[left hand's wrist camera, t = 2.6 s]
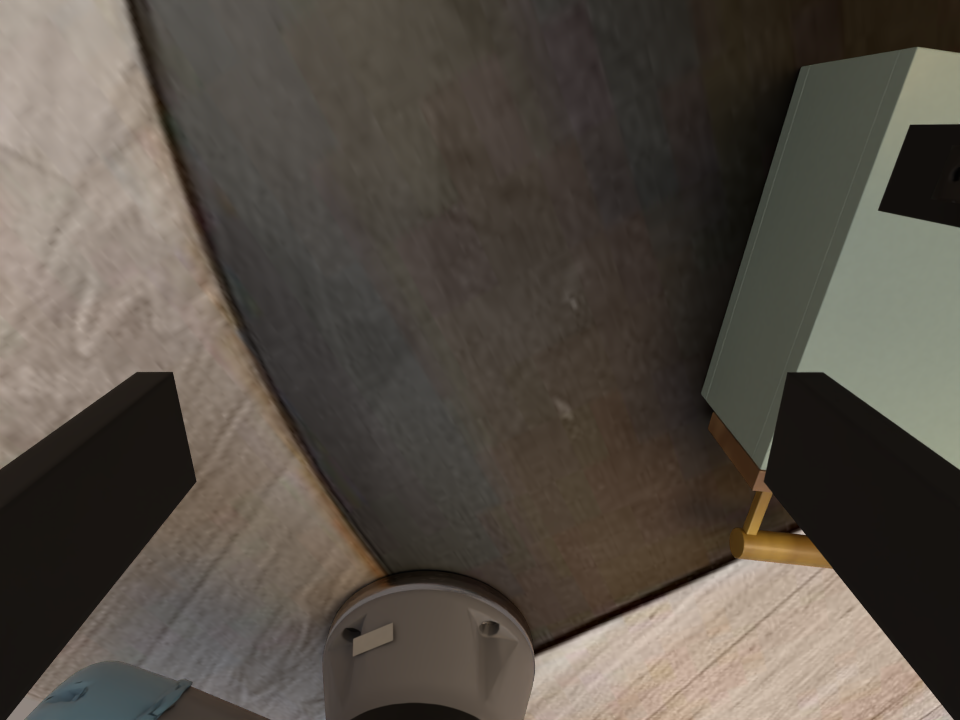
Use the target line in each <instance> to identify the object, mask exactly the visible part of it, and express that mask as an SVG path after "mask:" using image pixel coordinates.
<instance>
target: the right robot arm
mask: <svg viewBox="0 0 960 720" xmlns="http://www.w3.org/2000/svg"><path fill="white" fill-rule="evenodd" d="M878 211H881V212H886V213H891V214H896V215H901V216H905V217H910V218H915V219H920V220H925V221H930V222H934V223H939V224H944V225H949V226H954V227H959V228H960V124H921V125H910V126H909V129H908V131H907V134H906V137H905V139H904V142H903V144H902V147H901V150H900V152H899V155H898V158H897V160H896V163H895V166H894V168H893V171H892V174H891V176H890V179H889V182H888V184H887V187H886V190H885V192H884V195H883V198H882V200H881V203H880V206H879V208H878Z"/></svg>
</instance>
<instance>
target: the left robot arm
mask: <svg viewBox="0 0 960 720" xmlns="http://www.w3.org/2000/svg"><path fill="white" fill-rule="evenodd" d="M195 483H196V477H195V472H194V468H193V463H192V459H191V454H190V449H189V445H188V440H187V436H186V431H185V426H184V422H183V417H182V413H181V408H180V403H179V399H178V394H177V390H176V385H175V380H174V376H173V372H136V373H135V374H134V375H132V376H131V377H129V378H128V379H127V380H125V381H124V382H122V383H121V384H120V385H118V386H117V387H115V388H114V389H113V390H111V391H110V392H108V393H107V394H106V395H104V396H103V397H101V398H100V399H99V400H97V401H96V402H94V403H93V404H92V405H90V406H89V407H87V408H86V409H85V410H83V411H82V412H80V413H79V414H78V415H76V416H75V417H73V418H72V419H71V420H69V421H68V422H66V423H65V424H64V425H62V426H61V427H59V428H58V429H57V430H55V431H54V432H52V433H51V434H50V435H48V436H47V437H45V438H44V439H43V440H41V441H40V442H38V443H37V444H36V445H34V446H33V447H31V448H30V449H29V450H27V451H26V452H24V453H23V454H22V455H20V456H19V457H17V458H16V459H15V460H13V461H12V462H10V463H9V464H8V465H6V466H5V467H3V468H2V469H1V470H0V720H6V719H7V718H8V717H9V715H10V714H11V713H12V712H13V710H14V709H15V708H16V707H17V705H18V704H19V703H20V702H21V700H22V699H23V698H24V697H25V695H26V694H27V693H28V692H29V690H30V689H31V688H32V687H33V685H34V684H35V683H36V682H37V680H38V679H39V678H40V677H41V675H42V674H43V673H44V672H45V670H46V669H47V668H48V667H49V665H50V664H51V663H52V662H53V660H54V659H55V658H56V657H57V655H58V654H59V653H60V652H61V650H62V649H63V648H64V647H65V645H66V644H67V643H68V642H69V640H70V639H71V638H72V637H73V635H74V634H75V633H76V632H77V630H78V629H79V628H80V627H81V625H82V624H83V623H84V622H85V620H86V619H87V618H88V617H89V615H90V614H91V613H92V612H93V610H94V609H95V608H96V607H97V605H98V604H99V603H100V602H101V600H102V599H103V598H104V597H105V595H106V594H107V593H108V592H109V590H110V589H111V588H112V587H113V585H114V584H115V583H116V582H117V580H118V579H119V578H120V577H121V575H122V574H123V573H124V572H125V570H126V569H127V568H128V567H129V565H130V564H131V563H132V562H133V560H134V559H135V558H136V557H137V555H138V554H139V553H140V552H141V550H142V549H143V548H144V547H145V545H146V544H147V543H148V542H149V540H150V539H151V538H152V537H153V535H154V534H155V533H156V532H157V530H158V529H159V528H160V527H161V525H162V524H163V523H164V522H165V520H166V519H167V518H168V517H169V515H170V514H171V513H172V512H173V510H174V509H175V508H176V507H177V505H178V504H179V503H180V502H181V500H182V499H183V498H184V497H185V495H186V494H187V493H188V492H189V490H190V489H191V488H192V487H193V485H194V484H195ZM764 483H765V484H766V485H767V487H768V488H769V489H770V490H771V492H772V493H773V494H774V495H775V497H776V498H777V499H778V500H779V502H780V503H781V504H782V505H783V507H784V508H785V509H786V510H787V512H788V513H789V514H790V515H791V517H792V518H793V519H794V520H795V522H796V523H797V524H798V525H799V527H800V528H801V529H802V530H803V532H804V533H805V534H806V535H807V537H808V538H809V539H810V540H811V542H812V543H813V544H814V545H815V547H816V548H817V549H818V550H819V552H820V553H821V554H822V555H823V557H824V558H825V559H826V560H827V562H828V563H829V564H830V565H831V567H832V568H833V569H834V570H835V572H836V573H837V574H838V575H839V577H840V578H841V579H842V580H843V582H844V583H845V584H846V585H847V587H848V588H849V589H850V590H851V592H852V593H853V594H854V595H855V597H856V598H857V599H858V600H859V602H860V603H861V604H862V605H863V607H864V608H865V609H866V610H867V612H868V613H869V614H870V615H871V617H872V618H873V619H874V620H875V622H876V623H877V624H878V625H879V627H880V628H881V629H882V630H883V632H884V633H885V634H886V635H887V637H888V638H889V639H890V640H891V642H892V643H893V644H894V645H895V647H896V648H897V649H898V650H899V652H900V653H901V654H902V655H903V657H904V658H905V659H906V660H907V662H908V663H909V664H910V665H911V667H912V668H913V669H914V670H915V672H916V673H917V674H918V675H919V677H920V678H921V679H922V680H923V682H924V683H925V684H926V685H927V687H928V688H929V689H930V690H931V692H932V693H933V694H934V695H935V697H936V698H937V699H938V700H939V702H940V703H941V704H942V705H943V707H944V708H945V709H946V710H947V712H948V713H949V714H950V715H951V717H952V718H953V719H954V720H960V470H959V469H958V468H957V467H955V466H954V465H952V464H951V463H950V462H948V461H947V460H945V459H944V458H943V457H941V456H940V455H938V454H937V453H936V452H934V451H933V450H931V449H930V448H929V447H927V446H926V445H924V444H923V443H922V442H920V441H919V440H917V439H916V438H915V437H913V436H912V435H910V434H909V433H908V432H906V431H905V430H903V429H902V428H901V427H899V426H898V425H896V424H895V423H894V422H892V421H891V420H889V419H888V418H887V417H885V416H884V415H882V414H881V413H880V412H878V411H877V410H875V409H874V408H873V407H871V406H870V405H868V404H867V403H866V402H864V401H863V400H861V399H860V398H859V397H857V396H856V395H854V394H853V393H852V392H850V391H849V390H847V389H846V388H845V387H843V386H842V385H840V384H839V383H838V382H836V381H835V380H833V379H832V378H831V377H829V376H828V375H826V374H825V373H824V372H787V376H786V380H785V385H784V390H783V394H782V399H781V403H780V408H779V413H778V417H777V422H776V426H775V431H774V436H773V440H772V445H771V449H770V454H769V459H768V463H767V468H766V472H765V477H764ZM534 675H535V660H534V649H533V640H532V636H531V632H530V629H529V627H528V624H527V622H526V620H525V619H524V617H523V615H522V614H521V613H520V611H519V610H518V609H517V608H516V606H515V605H514V604H513V603H512V602H511V601H510V600H508V599H507V598H506V597H505V596H504V595H502V594H501V593H500V592H498V591H496V590H495V589H493V588H492V587H490V586H488V585H486V584H484V583H482V582H479V581H477V580H474V579H472V578H468V577H465V576H462V575H457V574H453V573H446V572H437V571H416V572H407V573H401V574H396V575H392V576H389V577H386V578H383V579H380V580H377V581H375V582H373V583H371V584H369V585H367V586H365V587H364V588H362V589H360V590H359V591H358V592H356V593H355V594H354V595H352V596H351V597H350V598H349V599H348V600H347V601H346V602H345V603H344V604H343V605H342V607H341V608H340V609H339V611H338V612H337V614H336V616H335V618H334V620H333V622H332V625H331V628H330V631H329V634H328V637H327V641H326V644H325V648H324V652H323V683H324V698H325V713H326V720H524V716H525V712H526V709H527V705H528V701H529V697H530V694H531V690H532V686H533V681H534ZM191 685H192V682H191V681H188V680H186V679H182V680H179V681H176V680H173V679H170V678H167V677H164V676H161V675H158V674H156V673H153V672H150V671H147V670H144V669H141V668H138V667H135V666H133V665H130V664H127V663H124V662H118V661H105V662H100V663H96V664H93V665H90V666H88V667H86V668H84V669H82V670H80V671H78V672H76V673H75V674H73V675H72V676H71V677H69V678H68V679H67V680H66V681H64V682H63V683H61V684H60V685H59V686H58V687H57V688H56V689H55V690H54V691H53V692H52V693H50V694H49V695H48V696H47V697H46V698H45V699H44V700H43V701H42V702H41V703H40V704H39V705H38V706H37V707H36V708H35V709H34V710H33V711H32V712H31V713H30V714H29V715H28V716H27V718H26V719H25V720H270V719H268V718H265V717H263V716H260V715H258V714H256V713H253V712H251V711H249V710H246V709H244V708H241V707H239V706H237V705H234V704H232V703H229V702H227V701H225V700H222V699H220V698H217V697H215V696H213V695H210V694H208V693H206V692H203V691H201V690H198V689H196V688H194V687H191Z"/></svg>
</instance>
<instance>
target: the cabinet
mask: <svg viewBox="0 0 960 720" xmlns="http://www.w3.org/2000/svg"><path fill="white" fill-rule="evenodd" d="M921 124H960V53H956V52H949V51H942V50H936V49H929V48H922V47H914V48H908V49H903V50H897V51H891V52H885V53H879V54H873V55H867V56H861V57H855V58H850V59H844V60H838V61H832V62H826V63H820V64H814V65H809V66H803V67H801V69H800V73H799V76H798V79H797V82H796V86H795V89H794V92H793V95H792V99H791V102H790V105H789V108H788V112H787V115H786V118H785V121H784V125H783V128H782V131H781V134H780V138H779V141H778V144H777V148H776V151H775V154H774V157H773V161H772V164H771V167H770V170H769V174H768V177H767V180H766V183H765V187H764V190H763V193H762V196H761V200H760V203H759V206H758V209H757V213H756V216H755V219H754V223H753V226H752V229H751V232H750V236H749V239H748V242H747V245H746V249H745V252H744V255H743V258H742V262H741V265H740V268H739V271H738V275H737V278H736V281H735V284H734V288H733V291H732V294H731V298H730V301H729V304H728V307H727V311H726V314H725V317H724V320H723V324H722V327H721V330H720V333H719V337H718V340H717V343H716V346H715V350H714V353H713V356H712V359H711V363H710V366H709V369H708V373H707V376H706V379H705V382H704V386H703V389H702V392H701V395H702V396H703V397H704V398H705V400H706V401H707V402H708V404H709V405H710V406H711V407H712V409H713V410H714V411H715V412H716V414H717V415H718V416H719V418H720V419H721V420H722V421H723V423H724V424H725V425H726V426H727V428H728V429H729V430H730V431H731V433H732V434H733V435H734V436H735V438H736V439H737V440H738V442H739V443H740V444H741V445H742V447H743V448H744V449H745V450H746V452H747V453H748V454H749V455H750V457H751V458H752V459H753V461H754V462H755V463H756V464H757V466H758V467H759V468H760V469H761V470H766V468H767V463H768V459H769V454H770V449H771V445H772V440H773V436H774V431H775V426H776V422H777V417H778V413H779V408H780V403H781V399H782V394H783V390H784V385H785V380H786V376H787V372H824V373H825V374H826V375H828V376H829V377H831V378H832V379H833V380H835V381H836V382H838V383H839V384H840V385H842V386H843V387H845V388H846V389H847V390H849V391H850V392H852V393H853V394H854V395H856V396H857V397H859V398H860V399H861V400H863V401H864V402H866V403H867V404H868V405H870V406H871V407H873V408H874V409H875V410H877V411H878V412H880V413H881V414H882V415H884V416H885V417H887V418H888V419H889V420H891V421H892V422H894V423H895V424H896V425H898V426H899V427H901V428H902V429H903V430H905V431H906V432H908V433H909V434H910V435H912V436H913V437H915V438H916V439H917V440H919V441H920V442H922V443H923V444H924V445H926V446H927V447H929V448H930V449H931V450H933V451H934V452H936V453H937V454H938V455H940V456H941V457H943V458H944V459H945V460H947V461H948V462H950V463H951V464H952V465H954V466H955V467H957V468H958V469H959V470H960V228H959V227H954V226H949V225H944V224H939V223H934V222H930V221H925V220H920V219H915V218H910V217H905V216H901V215H896V214H891V213H886V212H881V211H878V208H879V206H880V203H881V200H882V198H883V195H884V192H885V190H886V187H887V184H888V182H889V179H890V176H891V174H892V171H893V168H894V166H895V163H896V160H897V158H898V155H899V152H900V150H901V147H902V144H903V142H904V139H905V137H906V134H907V131H908V129H909V126H910V125H921Z"/></svg>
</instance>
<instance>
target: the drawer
mask: <svg viewBox="0 0 960 720" xmlns="http://www.w3.org/2000/svg"><path fill="white" fill-rule="evenodd" d="M708 430H709V431H710V433H711V434H712V435H713V437H714V438H715V439H716V441H717V442H718V444H719V445H720V446H721V448H722V449H723V450H724V452H725V453H726V455H727V456H728V457H729V459H730V460H731V462H732V463H733V464H734V466H735V467H736V468H737V470H738V471H739V473H740V474H741V475H742V477H743V478H744V479H745V481H746V482H747V484H748V485H749V486H750V488H751V489H752V490H753V491H756V493H755V496H754V499H753V501H752V504H751V507H750V509H749V512H748V515H747V517H746V520H745V523H744V525H743V528H734V529H733V530H732V532H731V534H730V550H731V552H732V554H733V556H734V557H735V558H739V559H748V560H757V561H766V562H776V563H785V564H794V565H803V566H813V567H822V568H831V569H833V568H832V567H831V565H830V564H829V563H828V562H827V560H826V559H825V558H824V557H823V555H822V554H821V553H820V552H819V550H818V549H817V548H816V547H815V545H814V544H813V543H812V542H811V540H810V539H809V538H808V537H807V535H800V534H791V533H782V532H773V531H764V530H758V529H759V527H760V524H761V522H762V519H763V516H764V514H765V511H766V509H767V506H768V504H769V501H770V498H771V496H772V492H771V490H770V489H769V488H768V487H767V485H766V484H765V483H764V477H765V472H766V470H761V469H760V468H759V467H758V466H757V464H756V463H755V462H754V461H753V459H752V458H751V457H750V455H749V454H748V453H747V452H746V450H745V449H744V448H743V447H742V445H741V444H740V443H739V442H738V440H737V439H736V438H735V436H734V435H733V434H732V433H731V431H730V430H729V429H728V428H727V426H726V425H725V424H724V423H723V421H722V420H721V419H720V418H719V416H718V415H717V414H716V412H713V414H712V417H711V420H710V423H709V426H708Z"/></svg>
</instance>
